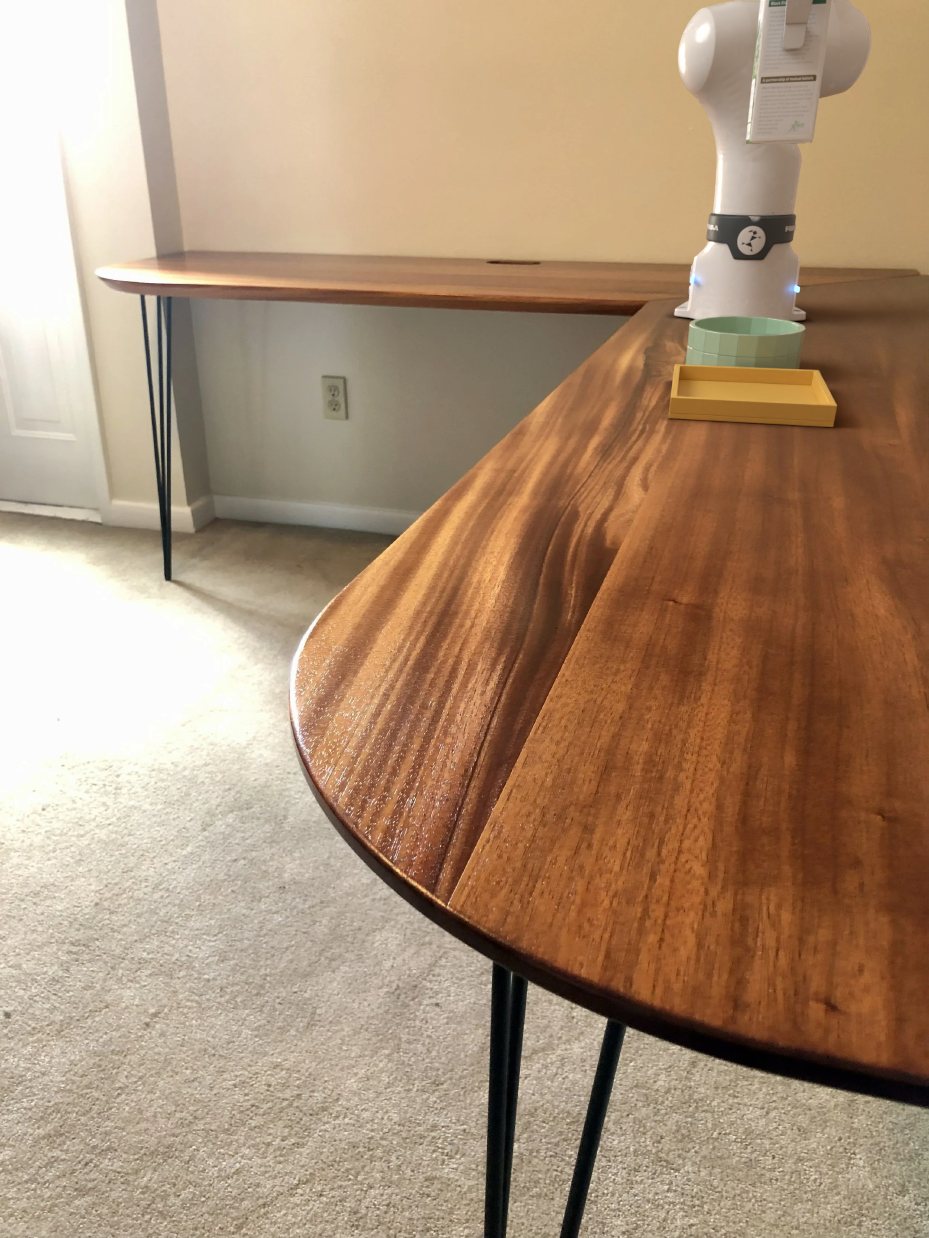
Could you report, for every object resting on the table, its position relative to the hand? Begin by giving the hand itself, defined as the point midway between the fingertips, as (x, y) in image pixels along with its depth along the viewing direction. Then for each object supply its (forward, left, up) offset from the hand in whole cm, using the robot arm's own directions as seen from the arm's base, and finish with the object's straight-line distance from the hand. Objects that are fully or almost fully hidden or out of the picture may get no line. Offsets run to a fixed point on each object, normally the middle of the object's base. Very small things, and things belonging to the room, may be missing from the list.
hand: (788, 54), depth 79 cm
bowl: (-9, 0, -30) cm, 31 cm away
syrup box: (0, 0, -7) cm, 7 cm away
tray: (+6, 0, -30) cm, 31 cm away
